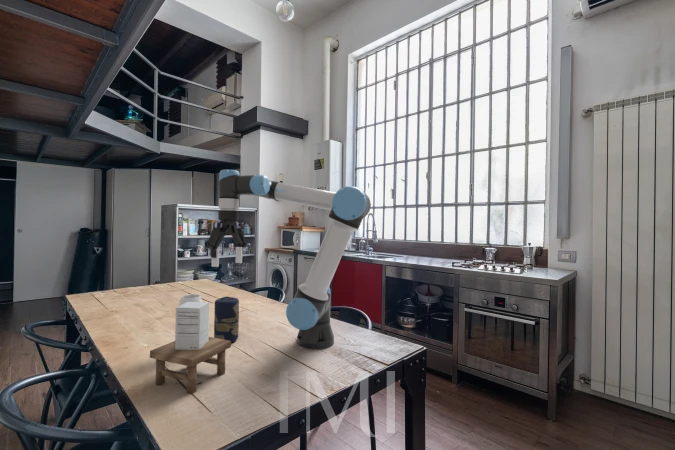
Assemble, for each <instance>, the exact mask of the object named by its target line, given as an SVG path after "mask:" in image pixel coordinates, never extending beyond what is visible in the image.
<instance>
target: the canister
mask: <svg viewBox="0 0 675 450" xmlns="http://www.w3.org/2000/svg"><path fill="white" fill-rule="evenodd" d="M213 321H214V322H213V333H214V334H213V338H218V339H223V340H229V341H231V343H232V342H235V341H237V340H238V339H239V333H240V332H239V328H240V326H239V325H240V323H239V321H240V300H239V298H237V297H234V296H233V297H232V296H222V297H221V298H218V299H216V300H215V301H214V320H213Z"/></svg>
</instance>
